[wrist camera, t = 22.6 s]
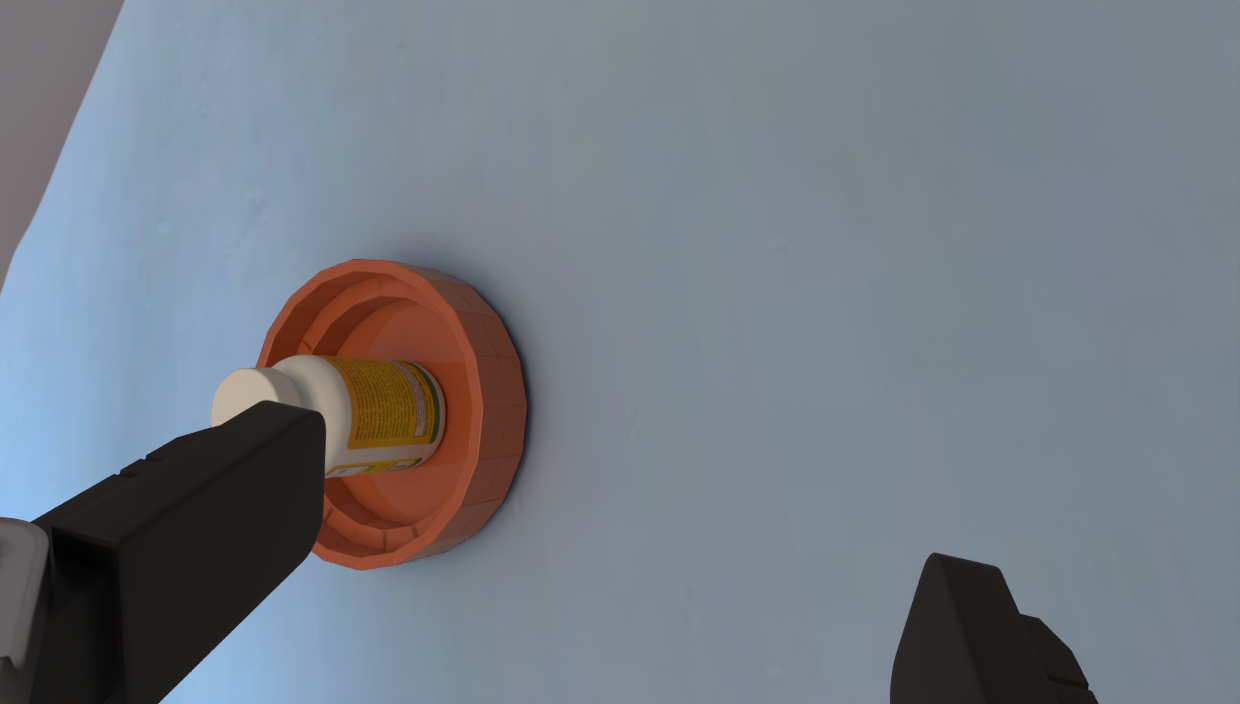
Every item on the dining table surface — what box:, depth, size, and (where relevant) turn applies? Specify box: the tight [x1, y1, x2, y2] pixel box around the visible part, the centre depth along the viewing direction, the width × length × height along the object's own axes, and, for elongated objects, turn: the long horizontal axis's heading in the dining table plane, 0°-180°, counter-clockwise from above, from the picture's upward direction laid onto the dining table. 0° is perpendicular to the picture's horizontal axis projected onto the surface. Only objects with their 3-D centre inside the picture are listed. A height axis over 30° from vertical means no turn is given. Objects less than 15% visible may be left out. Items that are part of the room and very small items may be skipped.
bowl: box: [256, 259, 527, 570], centre depth 40 cm, size 14×14×4 cm
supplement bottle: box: [211, 355, 446, 478], centre depth 37 cm, size 5×5×10 cm
